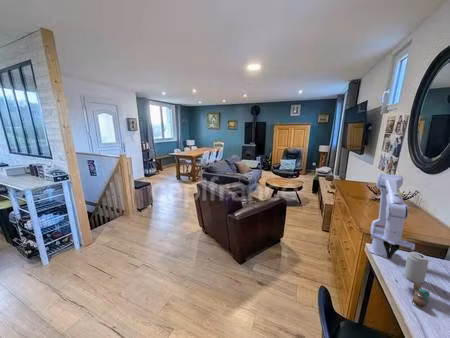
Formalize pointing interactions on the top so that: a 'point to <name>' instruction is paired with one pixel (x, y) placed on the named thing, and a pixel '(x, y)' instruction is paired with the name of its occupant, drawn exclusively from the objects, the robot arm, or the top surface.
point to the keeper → (425, 294)
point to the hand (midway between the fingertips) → (388, 257)
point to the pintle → (415, 304)
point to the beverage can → (416, 267)
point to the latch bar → (416, 299)
